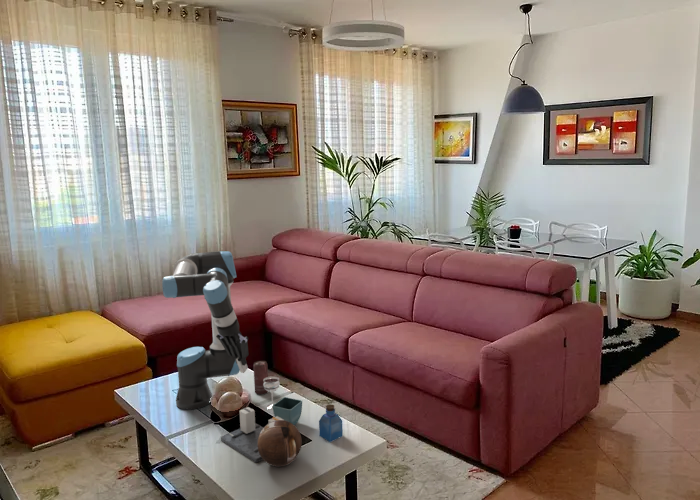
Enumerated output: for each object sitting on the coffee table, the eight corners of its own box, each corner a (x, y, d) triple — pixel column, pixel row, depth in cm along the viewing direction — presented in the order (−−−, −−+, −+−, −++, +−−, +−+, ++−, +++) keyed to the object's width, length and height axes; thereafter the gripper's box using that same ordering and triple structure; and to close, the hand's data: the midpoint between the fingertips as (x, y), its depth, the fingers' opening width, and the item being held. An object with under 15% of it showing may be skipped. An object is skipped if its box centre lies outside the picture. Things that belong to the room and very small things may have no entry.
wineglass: (283, 404, 232) (282, 378, 230) (274, 411, 226) (273, 384, 224) (270, 401, 235) (269, 375, 233) (261, 408, 229) (259, 381, 227)
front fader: (269, 440, 200) (268, 419, 198) (278, 436, 202) (277, 415, 201) (276, 444, 197) (275, 422, 195) (284, 439, 200) (283, 418, 198)
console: (221, 440, 204) (220, 436, 203) (254, 425, 214) (253, 421, 214) (256, 463, 189) (255, 458, 188) (289, 445, 199) (289, 441, 199)
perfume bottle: (331, 430, 210) (330, 401, 208) (342, 435, 205) (341, 406, 203) (319, 436, 205) (318, 406, 203) (330, 442, 201) (329, 411, 199)
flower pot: (272, 427, 213) (271, 405, 211) (285, 417, 221) (284, 396, 219) (291, 431, 209) (290, 410, 207) (303, 421, 217) (303, 400, 215)
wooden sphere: (255, 456, 193) (252, 416, 190) (296, 447, 198) (294, 409, 195) (263, 479, 179) (261, 437, 176) (307, 469, 184) (305, 428, 181)
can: (263, 396, 240) (261, 366, 237) (252, 393, 243) (250, 363, 241) (271, 391, 245) (270, 361, 243) (261, 388, 248) (259, 358, 246)
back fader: (240, 430, 207) (239, 409, 206) (249, 426, 210) (248, 406, 209) (246, 433, 205) (245, 413, 203) (255, 429, 207) (254, 409, 206)
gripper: (205, 325, 190) (224, 373, 202) (234, 331, 184) (252, 380, 197) (217, 311, 196) (236, 359, 208) (247, 317, 190) (264, 366, 202)
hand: (244, 370), depth 202 cm, fingers closed
